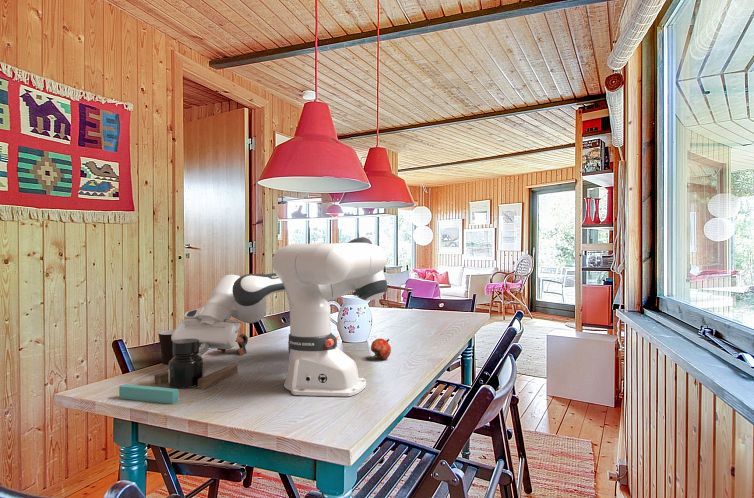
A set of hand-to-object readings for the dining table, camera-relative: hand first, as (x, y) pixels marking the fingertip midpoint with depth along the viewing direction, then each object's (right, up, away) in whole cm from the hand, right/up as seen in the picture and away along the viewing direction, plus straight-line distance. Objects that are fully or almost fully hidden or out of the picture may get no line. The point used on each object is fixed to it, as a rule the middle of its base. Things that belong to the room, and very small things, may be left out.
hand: (193, 358), depth 130 cm
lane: (+1, -6, 0) cm, 6 cm away
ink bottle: (0, -6, -5) cm, 8 cm away
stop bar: (-4, -6, -18) cm, 19 cm away
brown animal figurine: (+2, -6, +32) cm, 33 cm away
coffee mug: (-14, -6, +20) cm, 25 cm away
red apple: (+54, -6, +23) cm, 59 cm away
